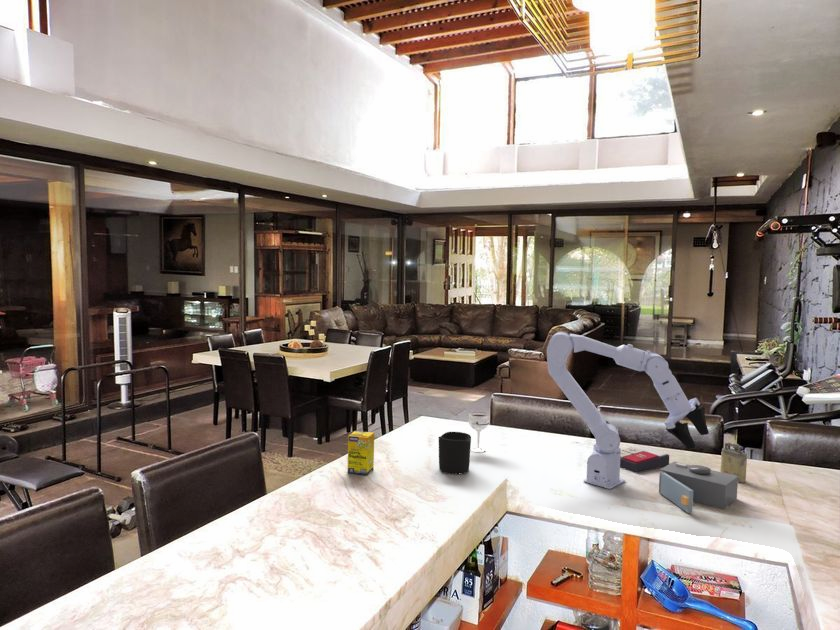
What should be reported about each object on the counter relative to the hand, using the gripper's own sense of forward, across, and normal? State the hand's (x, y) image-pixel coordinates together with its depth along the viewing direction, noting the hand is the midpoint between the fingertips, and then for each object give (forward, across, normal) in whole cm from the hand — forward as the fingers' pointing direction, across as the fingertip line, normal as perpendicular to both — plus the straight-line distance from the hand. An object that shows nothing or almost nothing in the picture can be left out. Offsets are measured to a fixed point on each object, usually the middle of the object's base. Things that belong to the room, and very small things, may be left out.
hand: (698, 440), depth 150 cm
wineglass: (-20, -26, +57) cm, 65 cm away
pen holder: (-21, -44, +46) cm, 67 cm away
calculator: (+6, +4, +27) cm, 28 cm away
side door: (+8, -17, +3) cm, 19 cm away
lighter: (+18, +13, +7) cm, 23 cm away
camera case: (+12, -7, +4) cm, 14 cm away
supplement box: (-34, -66, +56) cm, 92 cm away
